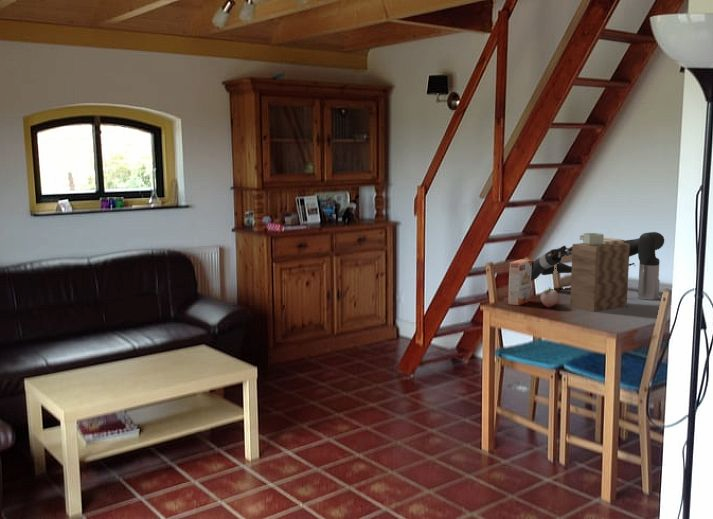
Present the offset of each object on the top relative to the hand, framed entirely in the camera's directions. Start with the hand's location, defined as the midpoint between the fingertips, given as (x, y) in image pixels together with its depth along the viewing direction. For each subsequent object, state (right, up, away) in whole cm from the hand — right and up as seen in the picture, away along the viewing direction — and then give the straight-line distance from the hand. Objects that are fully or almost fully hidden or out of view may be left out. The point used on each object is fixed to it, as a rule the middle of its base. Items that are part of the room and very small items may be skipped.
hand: (571, 246), depth 366 cm
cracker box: (-29, -28, -10) cm, 41 cm away
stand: (+7, -29, -19) cm, 35 cm away
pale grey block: (+2, 0, -26) cm, 27 cm away
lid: (+9, +2, -15) cm, 17 cm away
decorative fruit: (-17, -30, -22) cm, 40 cm away
